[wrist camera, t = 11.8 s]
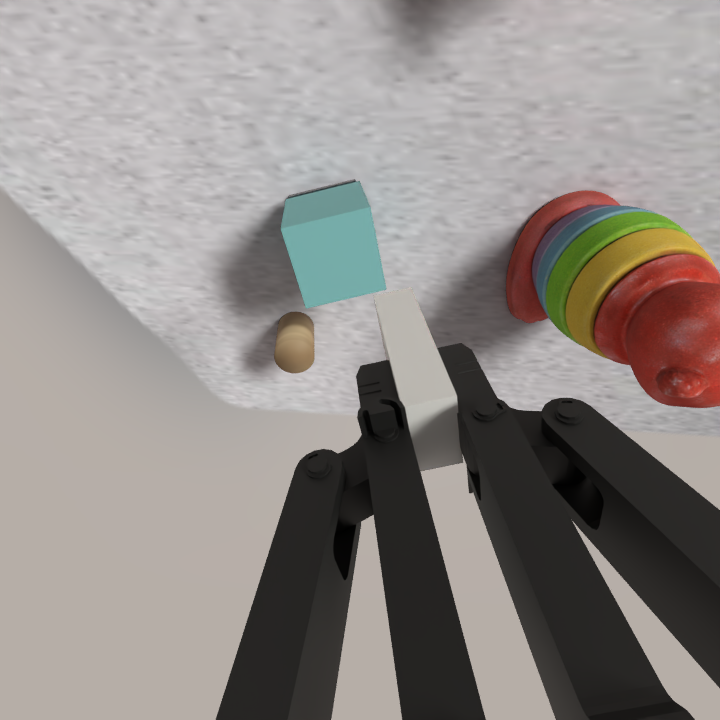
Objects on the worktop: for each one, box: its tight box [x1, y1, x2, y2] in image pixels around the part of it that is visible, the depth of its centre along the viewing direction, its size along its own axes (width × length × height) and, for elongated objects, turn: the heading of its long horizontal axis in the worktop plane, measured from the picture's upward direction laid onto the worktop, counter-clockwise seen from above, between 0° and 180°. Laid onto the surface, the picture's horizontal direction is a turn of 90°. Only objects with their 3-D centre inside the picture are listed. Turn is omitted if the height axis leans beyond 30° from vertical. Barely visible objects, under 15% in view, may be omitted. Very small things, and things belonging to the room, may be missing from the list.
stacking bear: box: [506, 191, 720, 408], centre depth 28 cm, size 11×10×18 cm
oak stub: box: [274, 312, 314, 373], centre depth 35 cm, size 3×3×4 cm
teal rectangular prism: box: [281, 181, 386, 308], centre depth 29 cm, size 5×5×7 cm
